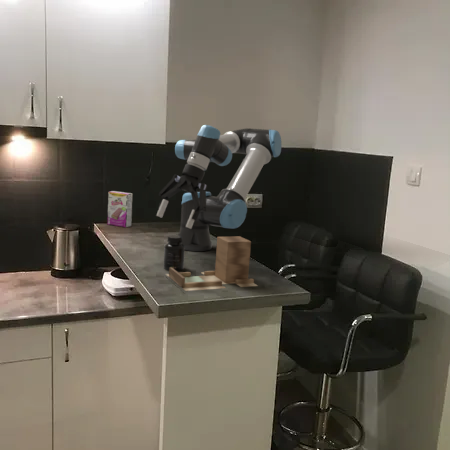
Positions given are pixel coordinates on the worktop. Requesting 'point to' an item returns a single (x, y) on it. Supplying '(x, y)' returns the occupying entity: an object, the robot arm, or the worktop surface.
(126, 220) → the candy bar box
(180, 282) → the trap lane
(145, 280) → the worktop surface
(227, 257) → the walnut block
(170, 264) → the supplement bottle
